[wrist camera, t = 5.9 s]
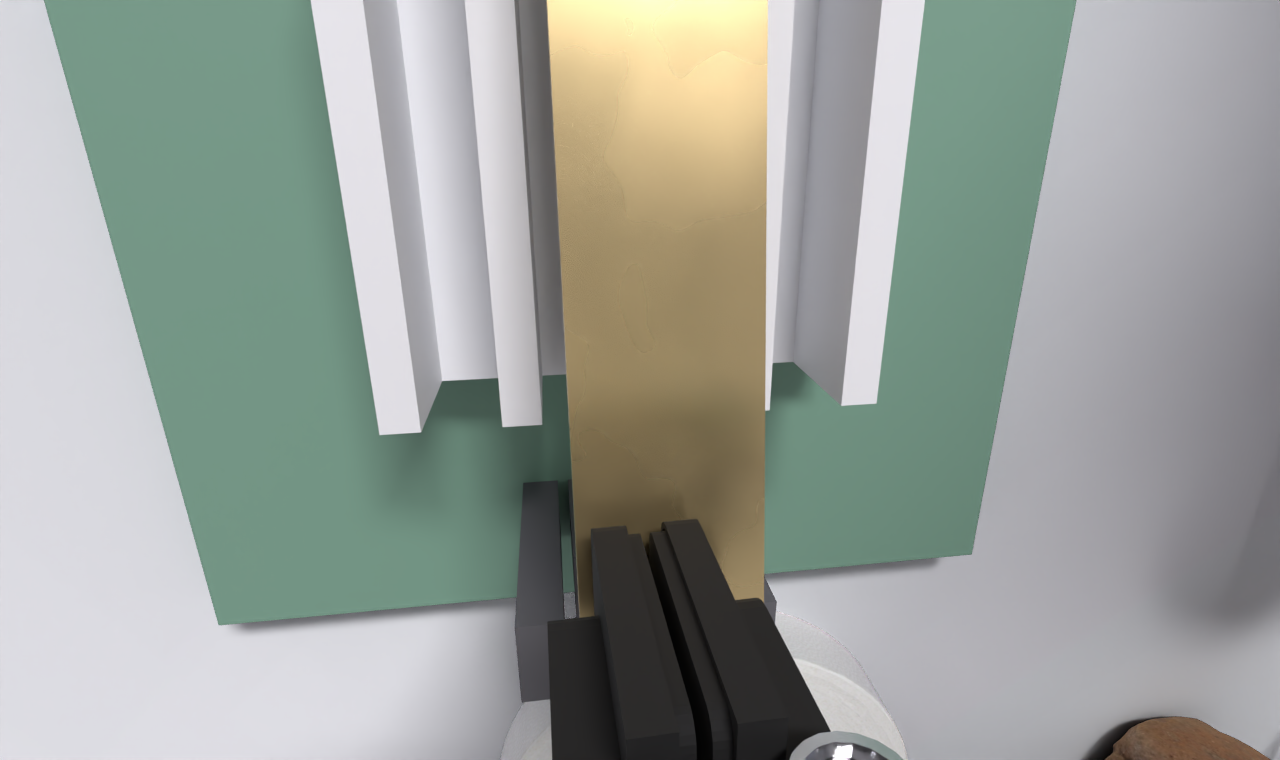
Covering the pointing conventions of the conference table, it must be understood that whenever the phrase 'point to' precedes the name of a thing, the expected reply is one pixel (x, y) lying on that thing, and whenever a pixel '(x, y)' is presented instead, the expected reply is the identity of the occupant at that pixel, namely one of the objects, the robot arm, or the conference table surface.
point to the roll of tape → (820, 664)
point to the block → (1180, 742)
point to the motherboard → (538, 282)
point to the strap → (664, 269)
